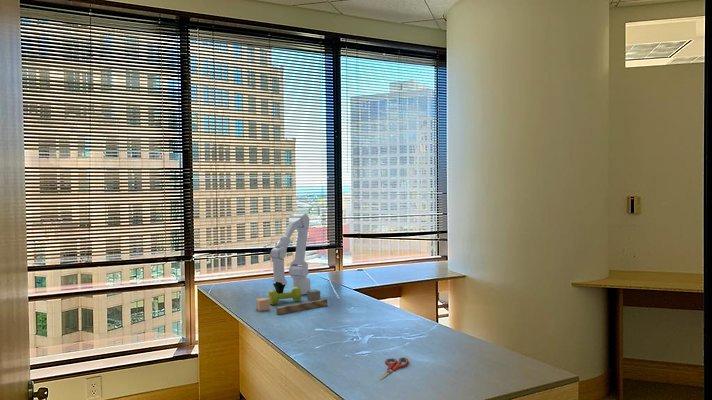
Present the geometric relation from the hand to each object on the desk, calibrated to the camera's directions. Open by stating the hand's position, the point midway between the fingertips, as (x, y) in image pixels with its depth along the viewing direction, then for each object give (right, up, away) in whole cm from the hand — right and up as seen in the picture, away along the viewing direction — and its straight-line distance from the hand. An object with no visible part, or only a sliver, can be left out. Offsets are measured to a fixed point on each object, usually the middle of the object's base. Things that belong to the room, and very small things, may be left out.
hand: (279, 296), depth 258 cm
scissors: (+51, -3, -105) cm, 117 cm away
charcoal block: (+18, -1, -3) cm, 18 cm away
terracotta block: (-5, -3, -18) cm, 19 cm away
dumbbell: (+3, -2, -5) cm, 7 cm away
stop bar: (+14, -2, -22) cm, 26 cm away
